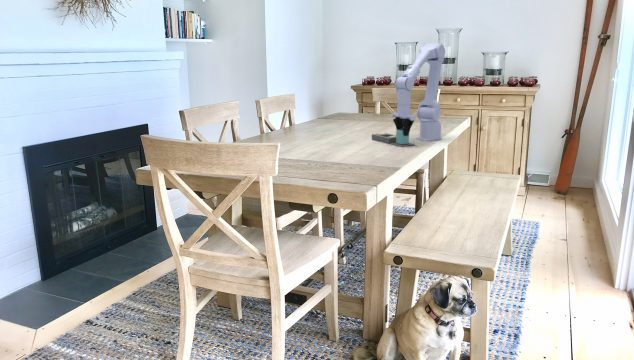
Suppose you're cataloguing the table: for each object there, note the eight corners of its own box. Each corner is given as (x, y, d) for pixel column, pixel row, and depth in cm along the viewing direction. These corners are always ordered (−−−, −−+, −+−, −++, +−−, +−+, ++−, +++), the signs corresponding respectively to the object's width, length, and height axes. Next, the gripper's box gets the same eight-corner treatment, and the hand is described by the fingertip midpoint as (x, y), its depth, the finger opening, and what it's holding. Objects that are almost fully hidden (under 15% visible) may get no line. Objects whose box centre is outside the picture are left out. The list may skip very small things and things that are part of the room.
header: (385, 138, 254) (385, 132, 253) (403, 142, 242) (403, 136, 241) (371, 139, 250) (371, 133, 250) (388, 143, 238) (389, 137, 237)
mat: (404, 142, 241) (404, 141, 241) (415, 145, 234) (415, 144, 234) (390, 144, 237) (390, 143, 237) (400, 146, 230) (400, 146, 230)
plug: (403, 142, 238) (403, 127, 236) (408, 143, 235) (409, 128, 233) (396, 142, 236) (396, 128, 235) (401, 144, 233) (401, 129, 231)
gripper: (386, 103, 236) (386, 133, 239) (406, 106, 223) (405, 138, 227) (399, 102, 239) (398, 132, 242) (419, 105, 226) (418, 136, 230)
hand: (403, 135), depth 235 cm, fingers closed on plug, 4 cm apart
